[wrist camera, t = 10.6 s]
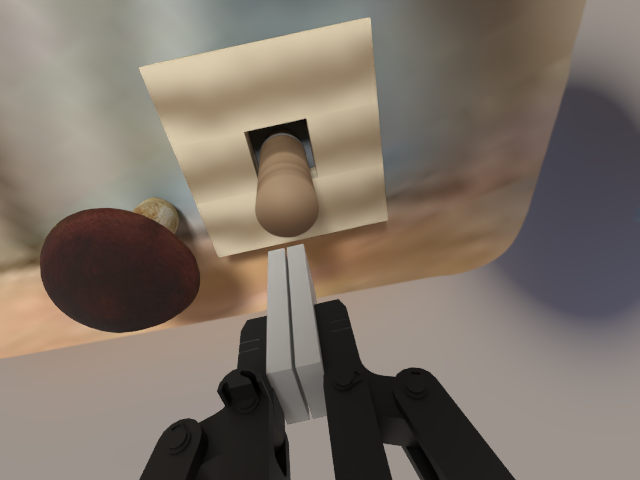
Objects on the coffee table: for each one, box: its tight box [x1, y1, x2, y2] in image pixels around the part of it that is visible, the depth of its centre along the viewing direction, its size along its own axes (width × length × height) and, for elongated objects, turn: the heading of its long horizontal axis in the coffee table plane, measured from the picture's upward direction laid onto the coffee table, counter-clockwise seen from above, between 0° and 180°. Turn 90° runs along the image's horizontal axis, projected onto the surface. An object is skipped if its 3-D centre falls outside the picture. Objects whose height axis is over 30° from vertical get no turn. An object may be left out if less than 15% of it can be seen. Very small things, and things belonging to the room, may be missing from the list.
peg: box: [255, 128, 319, 238], centre depth 28 cm, size 4×4×14 cm
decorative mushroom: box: [40, 197, 200, 333], centre depth 29 cm, size 11×11×15 cm
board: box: [139, 18, 388, 257], centre depth 32 cm, size 18×18×3 cm
